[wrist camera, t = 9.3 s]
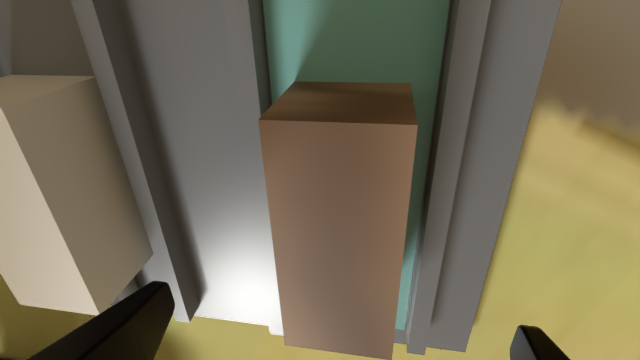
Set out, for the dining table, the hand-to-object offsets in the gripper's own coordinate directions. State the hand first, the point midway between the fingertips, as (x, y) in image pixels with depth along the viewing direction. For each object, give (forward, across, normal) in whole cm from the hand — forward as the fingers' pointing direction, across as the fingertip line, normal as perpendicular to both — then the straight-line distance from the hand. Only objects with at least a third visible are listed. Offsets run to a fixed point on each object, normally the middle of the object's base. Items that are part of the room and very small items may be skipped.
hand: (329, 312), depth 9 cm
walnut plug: (+6, 0, +2) cm, 6 cm away
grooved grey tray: (+7, +6, 0) cm, 9 cm away
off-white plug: (+6, +12, +2) cm, 14 cm away
